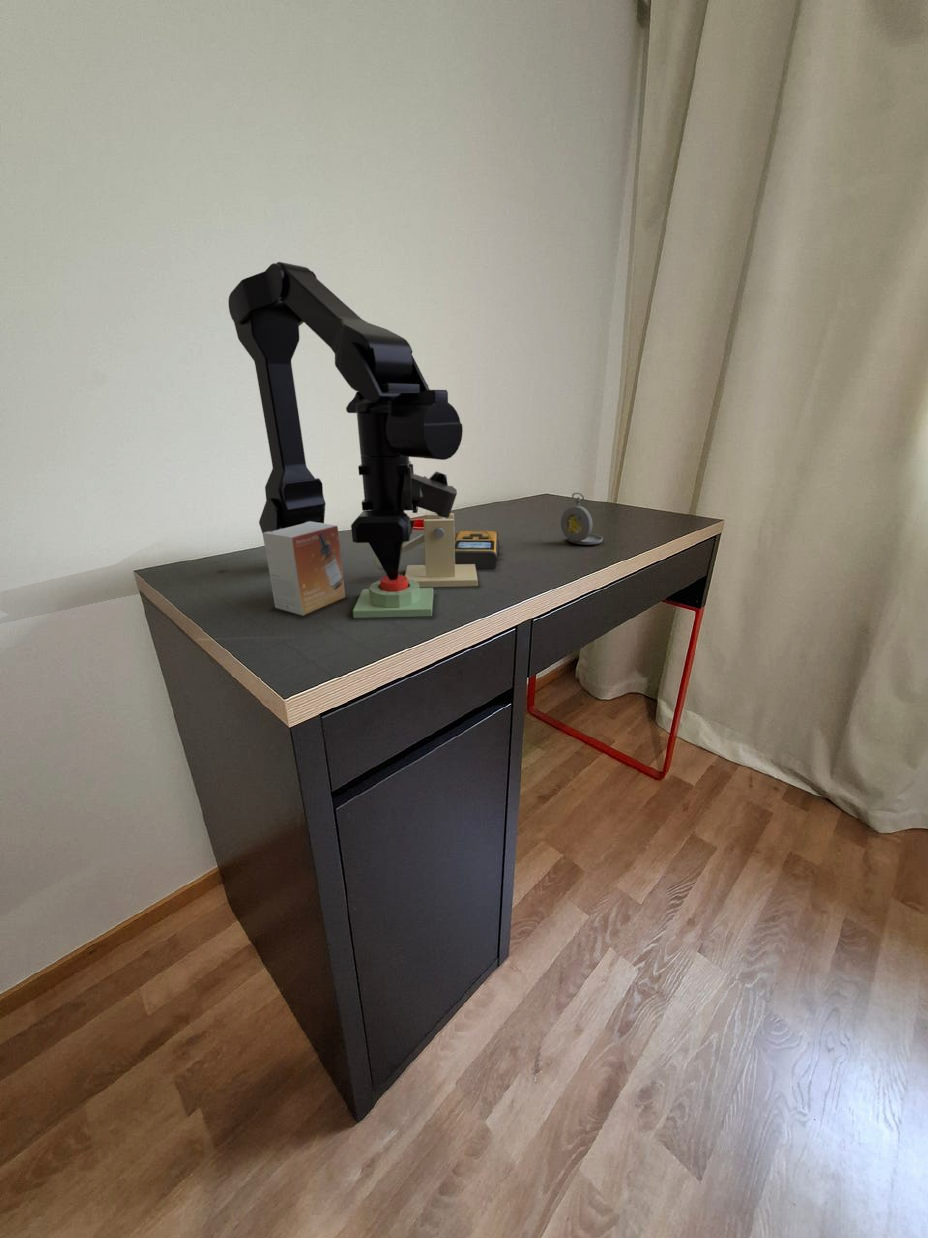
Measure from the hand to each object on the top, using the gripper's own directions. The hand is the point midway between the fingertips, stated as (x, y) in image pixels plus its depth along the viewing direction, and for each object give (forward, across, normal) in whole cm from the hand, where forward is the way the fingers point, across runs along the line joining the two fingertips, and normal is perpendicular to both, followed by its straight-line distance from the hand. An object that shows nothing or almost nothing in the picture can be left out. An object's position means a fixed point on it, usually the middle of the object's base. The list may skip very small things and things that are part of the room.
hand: (393, 578), depth 65 cm
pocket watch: (+4, +31, -33) cm, 45 cm away
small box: (+4, +2, +12) cm, 13 cm away
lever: (0, +11, -2) cm, 11 cm away
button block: (+4, 0, 0) cm, 4 cm away
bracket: (+4, +11, -6) cm, 13 cm away
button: (+2, 0, 0) cm, 2 cm away
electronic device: (+4, +23, -12) cm, 26 cm away
